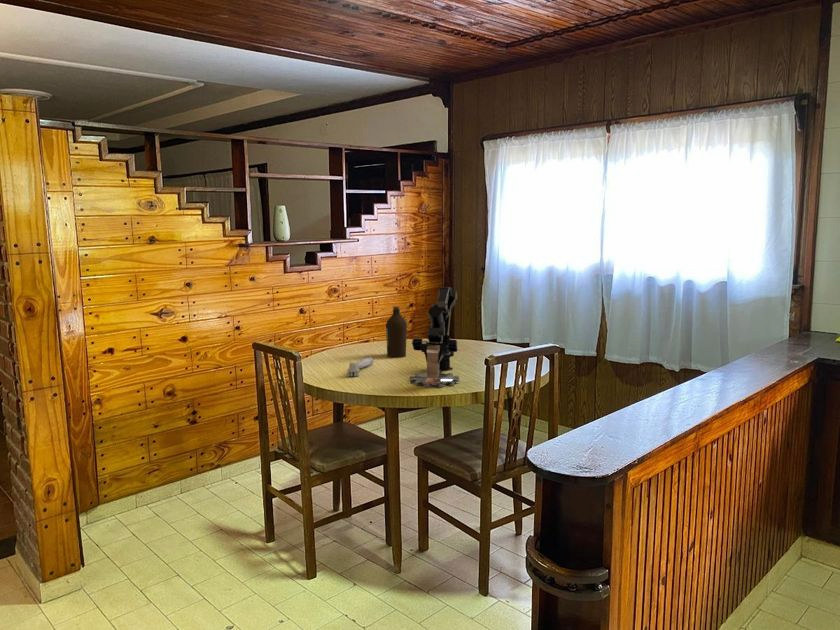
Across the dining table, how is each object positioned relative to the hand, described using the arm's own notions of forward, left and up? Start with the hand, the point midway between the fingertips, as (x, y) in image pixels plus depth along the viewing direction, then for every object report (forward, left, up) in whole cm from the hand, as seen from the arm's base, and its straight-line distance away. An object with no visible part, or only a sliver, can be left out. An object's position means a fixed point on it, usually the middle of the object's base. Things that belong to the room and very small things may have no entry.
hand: (432, 362), depth 256 cm
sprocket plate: (-5, +4, -10) cm, 12 cm away
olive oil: (-57, +13, -10) cm, 60 cm away
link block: (-1, +1, -7) cm, 7 cm away
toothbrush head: (-38, -15, -10) cm, 42 cm away
